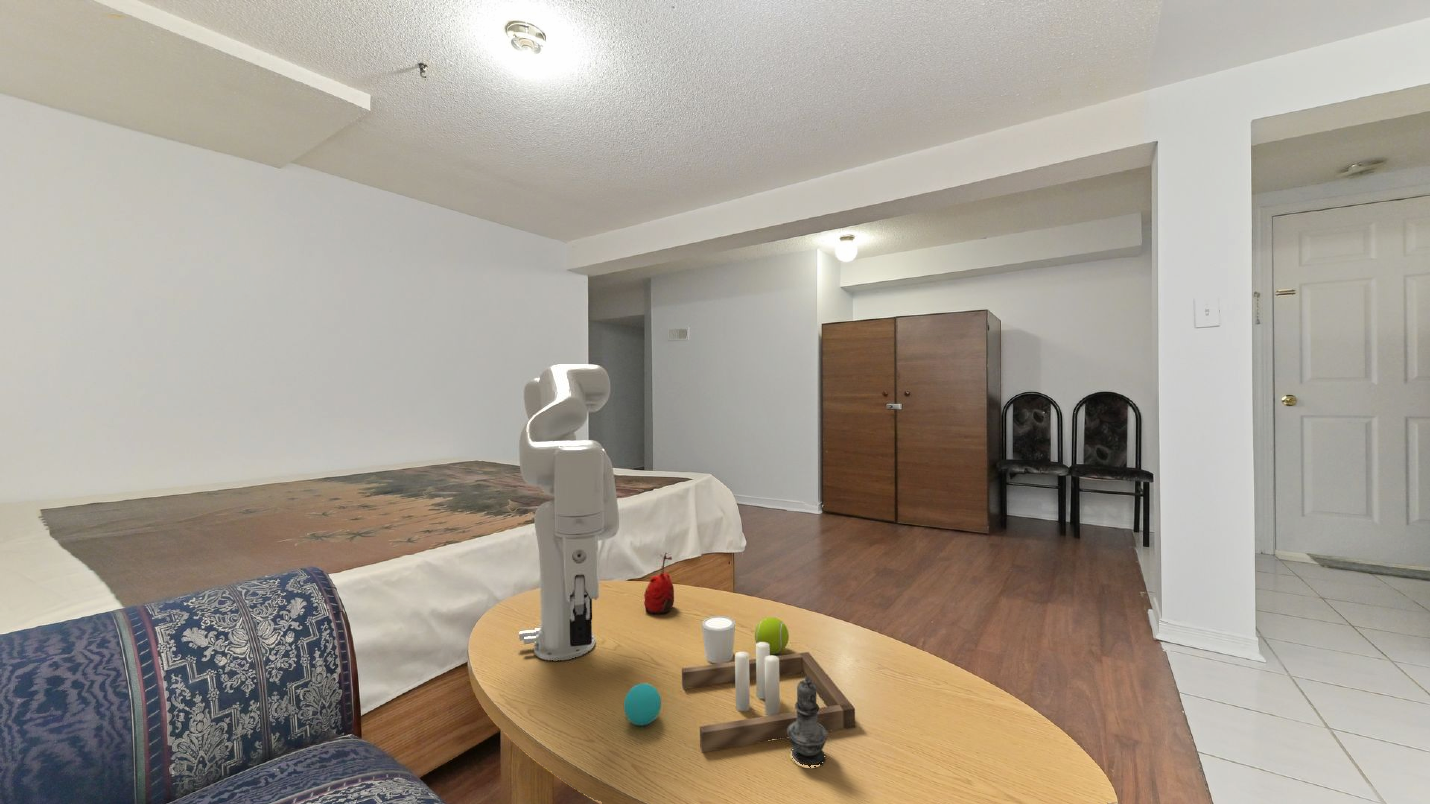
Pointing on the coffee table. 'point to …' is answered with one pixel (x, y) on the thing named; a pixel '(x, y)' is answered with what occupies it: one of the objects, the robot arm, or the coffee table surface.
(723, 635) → the white cup
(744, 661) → the pin front
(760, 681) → the pin
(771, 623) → the tennis ball
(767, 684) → the pin
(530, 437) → the robot arm
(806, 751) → the dark gray figurine
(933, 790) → the coffee table surface
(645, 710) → the ball
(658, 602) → the red rounded lumpy piece
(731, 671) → the bumper lane
